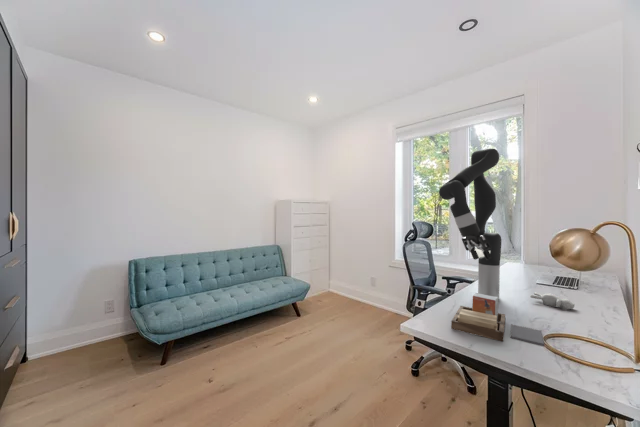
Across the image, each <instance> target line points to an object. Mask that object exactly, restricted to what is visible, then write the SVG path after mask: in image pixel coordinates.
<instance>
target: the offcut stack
mask: <svg viewBox="0 0 640 427" xmlns="http://www.w3.org/2000/svg"><path fill="white" fill-rule="evenodd" d="M458 321H459V322H464V323H468V324H472V325H477V326H481V327H486V328H490V329H494V330H497V329H498V324H497V316H496V315H490V314H485V313H480V312H475V311H470V310H465V309H461V312H460V313H459V316H458Z"/></svg>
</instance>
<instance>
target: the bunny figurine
mask: <svg viewBox="0 0 640 427" xmlns="http://www.w3.org/2000/svg"><path fill="white" fill-rule="evenodd" d="M530 298H531V299H537V300H541V301H542V302H543V304H544V305H545V306H547V307H548V306H549V307H551V308H552V307H553V308H554V307H555V308H559V309H561V310H565V311H567V310H573V309H574V308H575V305H576V304H575V303H573V302H572V301H571V300H570V299H568V298H562V297H561V296H558V295H557V294H553V293H550V292H549V293H543V294H541V293H539V292H533V294H530Z"/></svg>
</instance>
